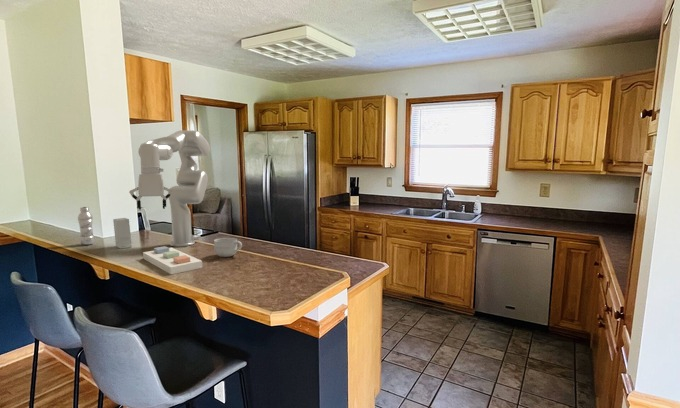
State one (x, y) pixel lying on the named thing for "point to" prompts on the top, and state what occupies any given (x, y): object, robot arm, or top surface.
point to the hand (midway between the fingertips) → (152, 209)
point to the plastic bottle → (86, 226)
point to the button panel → (169, 264)
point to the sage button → (170, 254)
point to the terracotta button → (181, 259)
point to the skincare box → (122, 233)
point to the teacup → (226, 246)
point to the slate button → (161, 249)
